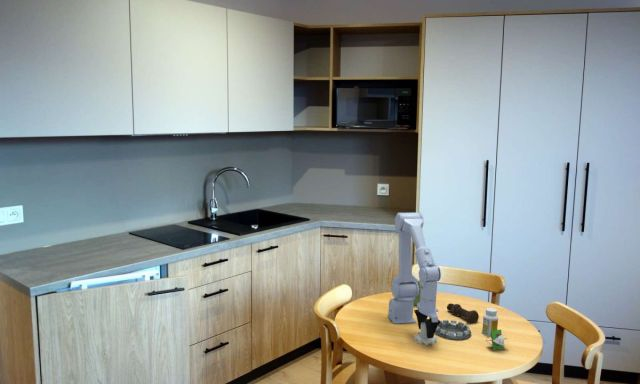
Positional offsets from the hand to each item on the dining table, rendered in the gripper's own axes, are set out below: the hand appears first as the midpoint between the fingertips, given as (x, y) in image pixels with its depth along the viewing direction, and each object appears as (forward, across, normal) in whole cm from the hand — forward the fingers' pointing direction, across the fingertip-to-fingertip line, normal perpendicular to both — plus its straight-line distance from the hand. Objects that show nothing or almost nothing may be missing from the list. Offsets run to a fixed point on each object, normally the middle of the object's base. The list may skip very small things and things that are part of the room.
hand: (425, 333), depth 195 cm
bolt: (+3, +20, -24) cm, 31 cm away
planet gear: (+3, 0, 0) cm, 3 cm away
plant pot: (+3, +36, -12) cm, 38 cm away
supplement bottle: (+3, +2, -27) cm, 27 cm away
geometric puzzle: (+3, -10, -23) cm, 25 cm away
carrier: (+3, +5, -13) cm, 14 cm away
